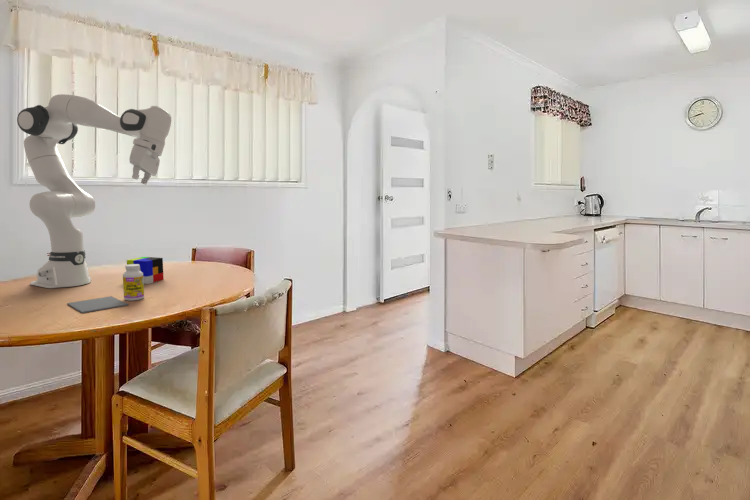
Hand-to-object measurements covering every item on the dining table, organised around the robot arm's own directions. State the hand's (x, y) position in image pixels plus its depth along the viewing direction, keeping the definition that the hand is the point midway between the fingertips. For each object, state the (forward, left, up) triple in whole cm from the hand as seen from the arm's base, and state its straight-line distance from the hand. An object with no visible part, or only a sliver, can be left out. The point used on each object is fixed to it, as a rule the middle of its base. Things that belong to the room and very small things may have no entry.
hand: (139, 181), depth 167 cm
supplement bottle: (+5, -11, -44) cm, 45 cm away
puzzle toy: (-15, +16, -44) cm, 49 cm away
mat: (0, -21, -44) cm, 49 cm away
